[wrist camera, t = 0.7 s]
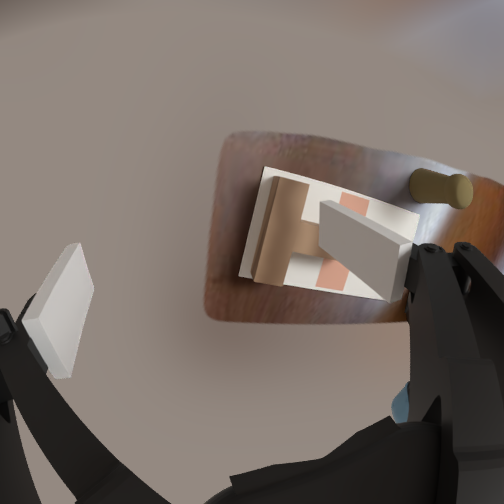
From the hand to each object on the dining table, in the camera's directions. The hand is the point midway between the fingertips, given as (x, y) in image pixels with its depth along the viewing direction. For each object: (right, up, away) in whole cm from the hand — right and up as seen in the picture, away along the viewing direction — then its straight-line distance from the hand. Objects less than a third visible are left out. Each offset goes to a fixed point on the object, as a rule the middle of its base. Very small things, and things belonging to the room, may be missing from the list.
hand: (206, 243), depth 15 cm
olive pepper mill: (+31, +11, +28) cm, 43 cm away
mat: (+16, +1, +29) cm, 33 cm away
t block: (+9, +2, +27) cm, 29 cm away
